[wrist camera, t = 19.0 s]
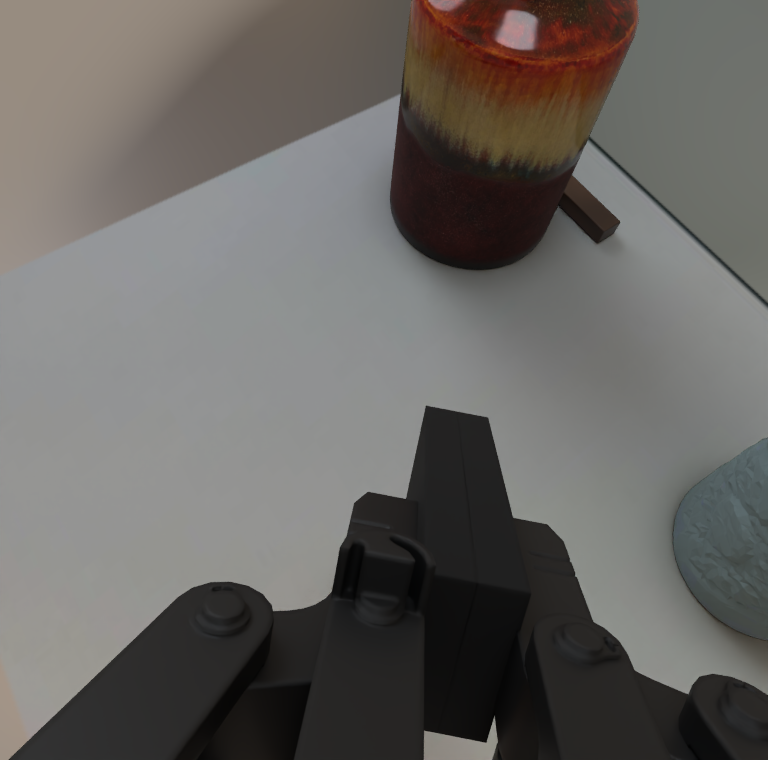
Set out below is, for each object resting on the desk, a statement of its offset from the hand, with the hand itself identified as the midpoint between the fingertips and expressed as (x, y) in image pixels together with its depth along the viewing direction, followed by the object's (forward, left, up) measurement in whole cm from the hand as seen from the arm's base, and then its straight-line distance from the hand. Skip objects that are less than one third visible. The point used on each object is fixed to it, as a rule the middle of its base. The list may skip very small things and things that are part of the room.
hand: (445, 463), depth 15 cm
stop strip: (-2, +30, -18) cm, 35 cm away
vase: (-5, +24, -18) cm, 31 cm away
